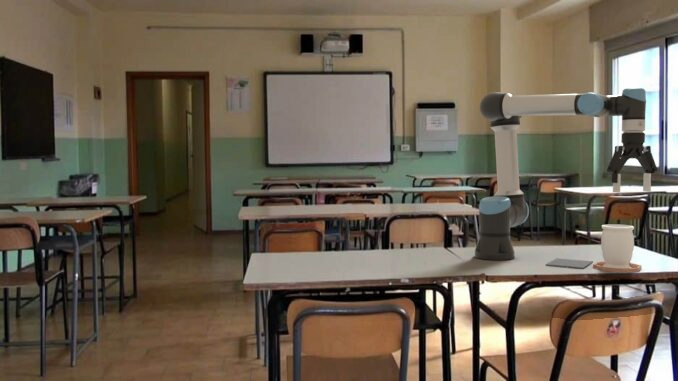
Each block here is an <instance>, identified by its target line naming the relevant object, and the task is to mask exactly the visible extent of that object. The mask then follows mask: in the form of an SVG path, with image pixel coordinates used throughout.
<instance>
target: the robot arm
mask: <svg viewBox="0 0 678 381" xmlns="http://www.w3.org/2000/svg"><path fill="white" fill-rule="evenodd" d="M646 92H647V91H646V89H644V88H641V87H630V88H624V89H623V90H622V93H621V94H617V95H616V94H615V95H603V94H599V93H598V92H597V93H596V92H585V93H562V94H561V93H560V94H558V93H556V94H532V95H531V94H529V95H528V94H526V95H525V94H524V95H523V94H522V95H521V94H520V95H514V94H513V93H512V94H511V93H509V92H499V91H498V92H497V91H493V92H488V93H487V94H486V95H484V96H483V97H482V99H481V100H480V103H479V112H480V115H481V116H482V118H484V119H485V120H487V121H489V122H490V124H489V126H490V129H491V130H492V131H493V132H494V143H495V160H496V161H495V165H496V179H497V180H496V181H497V182H496V183H497V191H496V192H495V193H494V195H493V196H487V197H483V198H482V199H480V201H479V205H478V206H479V207H478V212H479V213H478V214H479V216H478V217H479V218H478V221H479V222H478V223H479V224H478V225H479V226H478V228H479V230H478V231H479V234H478V240H477V243H476V245H475V249H474V257H475V258H477V259H479V260H481V259H482V260H491V261H506V260H507V261H508V260H513V259H515V250H514V246H513V243H512V239H511V228H516V227H519V226H520V225H522V224H523V223H525V222H526V221H527V219H528V217H529V213H530V207H529V204H528V203H527V202H526V201H525V194H524V192H523V191H522V190H521V189H520V173H519V152H518V137H517V134H518V132H517V130H518V129H519V128H520V127H521V118H522V116H523V117H524V116H525V117H527V116H530V117H531V116H533V117H534V116H535V117H537V116H538V117H539V116H588V117H590V118H600V117H620V116H621V132H622V133H621V141H620V142H621V143H622V145H615V146H614V152H613V155H612V156H611V159H610V160H609V161H610V162H609V164H608V167H607V168H606V172H607V173H609V174H611V182H612V193H618V194H619V193H621V182H622V181H621V175H622V174H621V173H620V172H621V170H622V169H623V168H624V166H625V164H626V163H627V162H628V161H629V160H630V159H636V160H637V161H638V163H639V165H640V166H641V167H642V169H643V170H644V173H643V183H642V184H643V186H642V192H646V193H647V192H649V193H650V192H652V182H653V174H655V173H656V172H657V171H658V167H657V164H656V162H655V159H654V157H653V154H652V149H651V148H652V147H651V145H644V143H646V141H645V140H646V133H645V132H644V131H645V130H646V111H647V110H646V109H647V99H646V98H647V94H646Z"/></svg>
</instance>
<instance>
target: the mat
mask: <svg viewBox="0 0 678 381" xmlns="http://www.w3.org/2000/svg"><path fill="white" fill-rule="evenodd" d="M593 264H594V261H592V260H582V259H569V258H555V259H553V260H551V261H549V262H547V263H545V267H554V268H566V267H568V268H567V269H579V270H584V269H586V268H587V267H589V266H590V265H593Z"/></svg>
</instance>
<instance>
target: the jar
mask: <svg viewBox="0 0 678 381" xmlns="http://www.w3.org/2000/svg"><path fill="white" fill-rule="evenodd" d="M601 229H602V232H601V236H600V237H601V238H600V244H601V252H602V258H603V260H604V261H605V262H606V264H605V265H603V267H610V268H631V267H630V266H629V263H631V261H632V258H633V255H634V254H633V253H634V248H635V236H634V233H633V230H635V226H633V225H629V224H619V223H618V224H617V223H615V224H613V223H610V224H602V225H601Z"/></svg>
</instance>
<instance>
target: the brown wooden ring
mask: <svg viewBox="0 0 678 381" xmlns="http://www.w3.org/2000/svg"><path fill="white" fill-rule="evenodd" d="M605 264H606V262H605V261H596V262H595V263H594V262H593V263H592V268H593V269H597V270H599V271H602V272H614V273H636V272H637V271H639V270H640V271H641V270H642V264H637V263H633V262H630V263H629V266H630V268H610V267H604V265H605ZM640 271H639V272H640Z"/></svg>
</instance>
